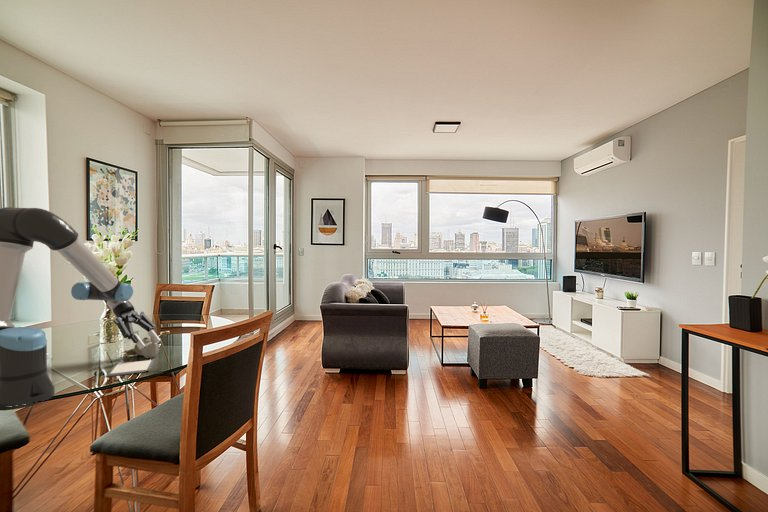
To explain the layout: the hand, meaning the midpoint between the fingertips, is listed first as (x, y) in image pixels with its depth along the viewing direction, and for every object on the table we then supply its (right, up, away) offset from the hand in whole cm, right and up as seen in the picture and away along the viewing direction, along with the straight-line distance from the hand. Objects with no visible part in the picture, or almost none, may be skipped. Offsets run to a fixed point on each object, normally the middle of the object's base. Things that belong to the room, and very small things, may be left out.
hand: (150, 344), depth 164 cm
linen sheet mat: (+1, -7, -13) cm, 15 cm away
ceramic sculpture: (-4, -6, +2) cm, 7 cm away
